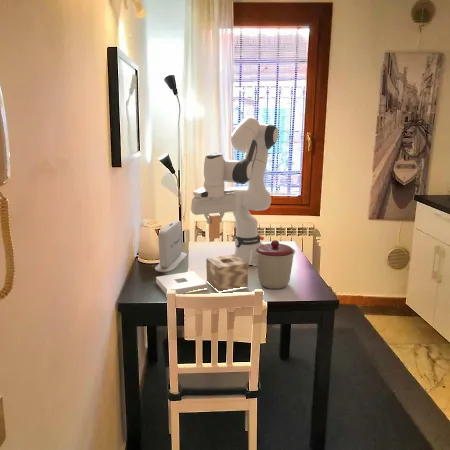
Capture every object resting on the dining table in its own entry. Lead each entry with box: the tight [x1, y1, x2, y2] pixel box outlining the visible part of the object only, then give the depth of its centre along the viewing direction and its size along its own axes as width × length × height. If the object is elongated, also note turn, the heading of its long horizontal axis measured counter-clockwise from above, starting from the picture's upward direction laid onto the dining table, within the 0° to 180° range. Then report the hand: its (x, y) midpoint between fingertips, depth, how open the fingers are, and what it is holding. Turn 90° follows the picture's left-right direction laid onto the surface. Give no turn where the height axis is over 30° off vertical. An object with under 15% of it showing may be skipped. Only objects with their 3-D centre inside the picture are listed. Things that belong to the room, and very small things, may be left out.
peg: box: [208, 213, 221, 240], centre depth 202 cm, size 4×4×10 cm
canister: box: [255, 239, 296, 290], centre depth 208 cm, size 18×18×21 cm
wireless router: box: [154, 220, 187, 273], centre depth 240 cm, size 31×10×20 cm, turn 168°
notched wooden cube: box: [205, 253, 249, 291], centre depth 208 cm, size 14×14×12 cm
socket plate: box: [155, 270, 208, 295], centre depth 208 cm, size 18×18×3 cm
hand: (214, 222), depth 202 cm, fingers closed on peg, 4 cm apart
